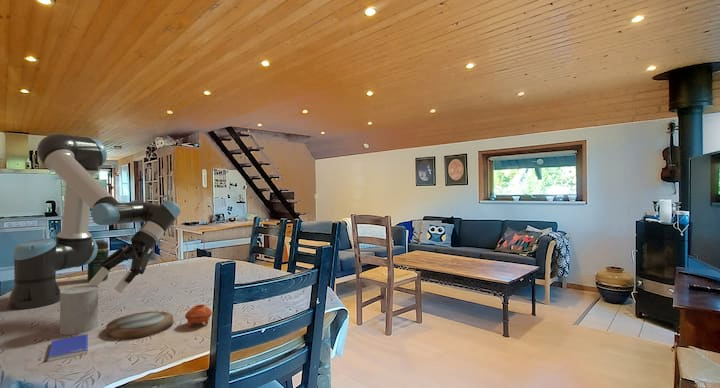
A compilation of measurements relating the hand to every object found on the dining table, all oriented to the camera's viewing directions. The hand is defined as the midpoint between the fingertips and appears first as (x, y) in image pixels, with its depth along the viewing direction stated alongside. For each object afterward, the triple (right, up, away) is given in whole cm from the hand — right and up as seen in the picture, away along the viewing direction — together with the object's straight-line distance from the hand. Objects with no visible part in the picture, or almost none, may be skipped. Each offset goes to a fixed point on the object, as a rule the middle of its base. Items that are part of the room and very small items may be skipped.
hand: (104, 288), depth 118 cm
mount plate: (+14, -11, -4) cm, 19 cm away
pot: (+31, -12, 0) cm, 33 cm away
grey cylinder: (-4, -11, -5) cm, 13 cm away
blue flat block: (+4, -12, -19) cm, 23 cm away
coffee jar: (-41, -10, +54) cm, 68 cm away
